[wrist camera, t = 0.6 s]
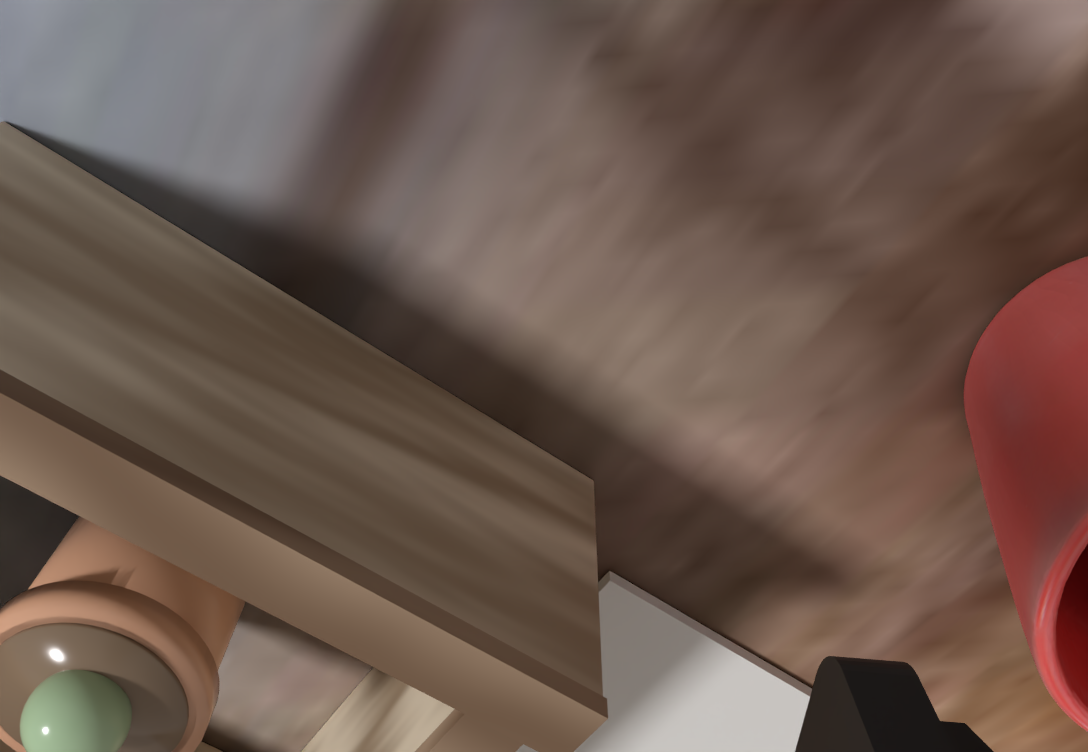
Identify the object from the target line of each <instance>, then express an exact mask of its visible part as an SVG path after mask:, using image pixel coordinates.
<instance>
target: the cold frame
mask: <svg viewBox="0 0 1088 752" xmlns="http://www.w3.org/2000/svg"><path fill="white" fill-rule="evenodd" d="M0 475H1V476H2V477H4V478H6V479H8V480H10V481H12V482H14V483H16V484H18V485H20V486H22V487H24V488H26V489H28V490H30V491H32V492H34V493H36V494H37V495H39V496H41V497H43V498H45V499H47V500H49V501H51V502H53V503H55V504H57V505H59V506H61V507H63V508H65V509H67V510H69V511H71V512H73V513H74V514H76V515H78V516H80V517H82V518H84V519H86V520H88V521H90V522H92V523H94V524H96V525H98V526H100V527H102V528H104V529H106V530H108V531H109V532H111V533H113V534H115V535H117V536H119V537H121V538H123V539H125V540H127V541H129V542H131V543H133V544H135V545H137V546H139V547H141V548H143V549H145V550H146V551H148V552H150V553H152V554H154V555H156V556H158V557H160V558H162V559H164V560H166V561H168V562H170V563H172V564H174V565H176V566H178V567H180V568H181V569H183V570H185V571H187V572H189V573H191V574H193V575H195V576H197V577H199V578H201V579H203V580H205V581H207V582H209V583H211V584H213V585H215V586H217V587H218V588H220V589H222V590H224V591H226V592H228V593H230V594H232V595H234V596H236V597H238V598H240V599H242V600H244V601H246V602H248V603H250V604H252V605H253V606H255V607H257V608H259V609H261V610H263V611H265V612H267V613H269V614H271V615H273V616H275V617H277V618H279V619H281V620H283V621H285V622H287V623H288V624H290V625H292V626H294V627H296V628H298V629H300V630H302V631H304V632H306V633H308V634H310V635H312V636H314V637H316V638H318V639H320V640H322V641H324V642H325V643H327V644H329V645H331V646H333V647H335V648H337V649H339V650H341V651H343V652H345V653H347V654H349V655H351V656H353V657H355V658H357V659H359V660H360V661H362V662H364V663H366V664H368V665H370V666H372V667H373V668H372V670H371V671H370V672H369V673H368V674H367V675H366V677H365V678H364V679H363V680H362V681H361V682H360V684H359V685H358V686H357V687H356V688H355V689H354V691H353V692H352V693H351V694H350V695H349V696H348V698H347V699H346V700H345V701H344V702H343V703H342V705H341V706H340V707H339V708H338V709H337V710H336V712H335V713H334V714H333V715H332V716H331V717H330V719H329V720H328V721H327V722H326V723H325V724H324V726H323V727H322V728H321V729H320V730H319V731H318V733H317V734H316V735H315V736H314V737H313V738H312V740H311V741H310V742H309V743H308V744H307V745H306V747H305V748H304V749H303V750H302V751H301V752H516V751H517V750H518V749H519V748H520V747H521V746H522V745H523V744H524V745H526V746H528V747H530V748H532V749H534V750H536V751H538V752H574V751H575V750H576V749H577V748H578V747H579V746H580V745H581V744H582V743H583V742H584V741H585V740H586V739H587V738H588V737H589V736H591V735H592V734H593V733H594V732H595V731H596V730H597V729H598V728H599V727H600V726H601V725H602V724H603V723H604V722H605V721H606V720H607V719H608V705H607V698H605V697H603V685H602V662H601V638H600V615H599V591H598V568H597V545H596V521H595V498H594V481H593V480H592V479H590V478H588V477H587V476H585V475H584V474H582V473H580V472H579V471H577V470H575V469H574V468H572V467H570V466H569V465H567V464H565V463H564V462H562V461H561V460H559V459H557V458H556V457H554V456H552V455H551V454H549V453H547V452H546V451H544V450H542V449H541V448H539V447H538V446H536V445H534V444H533V443H531V442H529V441H528V440H526V439H524V438H523V437H521V436H520V435H518V434H516V433H515V432H513V431H511V430H510V429H508V428H506V427H505V426H503V425H501V424H500V423H498V422H497V421H495V420H493V419H492V418H490V417H488V416H487V415H485V414H483V413H482V412H480V411H478V410H477V409H475V408H474V407H472V406H470V405H469V404H467V403H465V402H464V401H462V400H460V399H459V398H457V397H456V396H454V395H452V394H451V393H449V392H447V391H446V390H444V389H442V388H441V387H439V386H437V385H436V384H434V383H433V382H431V381H429V380H428V379H426V378H424V377H423V376H421V375H419V374H418V373H416V372H414V371H413V370H411V369H410V368H408V367H406V366H405V365H403V364H401V363H400V362H398V361H396V360H395V359H393V358H392V357H390V356H388V355H387V354H385V353H383V352H382V351H380V350H378V349H377V348H375V347H373V346H372V345H370V344H369V343H367V342H365V341H364V340H362V339H360V338H359V337H357V336H355V335H354V334H352V333H350V332H349V331H347V330H346V329H344V328H342V327H341V326H339V325H337V324H336V323H334V322H332V321H331V320H329V319H328V318H326V317H324V316H323V315H321V314H319V313H318V312H316V311H314V310H313V309H311V308H309V307H308V306H306V305H305V304H303V303H301V302H300V301H298V300H296V299H295V298H293V297H291V296H290V295H288V294H286V293H285V292H283V291H282V290H280V289H278V288H277V287H275V286H273V285H272V284H270V283H268V282H267V281H265V280H264V279H262V278H260V277H259V276H257V275H255V274H254V273H252V272H250V271H249V270H247V269H245V268H244V267H242V266H241V265H239V264H237V263H236V262H234V261H232V260H231V259H229V258H227V257H226V256H224V255H222V254H221V253H219V252H218V251H216V250H214V249H213V248H211V247H209V246H208V245H206V244H204V243H203V242H201V241H200V240H198V239H196V238H195V237H193V236H191V235H190V234H188V233H186V232H185V231H183V230H181V229H180V228H178V227H177V226H175V225H173V224H172V223H170V222H168V221H167V220H165V219H163V218H162V217H160V216H158V215H157V214H155V213H154V212H152V211H150V210H149V209H147V208H145V207H144V206H142V205H140V204H139V203H137V202H135V201H134V200H132V199H131V198H129V197H127V196H126V195H124V194H122V193H121V192H119V191H117V190H116V189H114V188H113V187H111V186H109V185H108V184H106V183H104V182H103V181H101V180H99V179H98V178H96V177H94V176H93V175H91V174H90V173H88V172H86V171H85V170H83V169H81V168H80V167H78V166H76V165H75V164H73V163H71V162H70V161H68V160H67V159H65V158H63V157H62V156H60V155H58V154H57V153H55V152H53V151H52V150H50V149H49V148H47V147H45V146H44V145H42V144H40V143H39V142H37V141H35V140H34V139H32V138H30V137H29V136H27V135H26V134H24V133H22V132H21V131H19V130H17V129H16V128H14V127H12V126H11V125H9V124H7V123H6V122H4V121H2V122H1V123H0ZM0 752H17V751H15V750H14V749H12V748H11V747H10V746H8V745H7V744H6V743H4V742H3V741H2V740H1V739H0ZM194 752H223V751H221V750H219V749H216V748H214V747H212V746H210V745H208V744H206V743H204V742H200V744H199V745H198V747H197V748H196V750H195V751H194Z"/></svg>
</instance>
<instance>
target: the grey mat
mask: <svg viewBox="0 0 1088 752" xmlns="http://www.w3.org/2000/svg"><path fill="white" fill-rule="evenodd" d="M598 591H599V615H600V638H601V662H602V685H603V697H605V698H607V705H608V719H607V720H606V721H605V722H604V723H603V724H602V725H601V726H600V727H599V728H598V729H597V730H596V731H595V732H594V733H593V734H592V735H591V736H589V737H588V738H587V739H586V740H585V741H584V742H583V743H582V744H581V745H580V746H579V747H578V748H577V749H576V750H575V751H574V752H795V750H796V746H797V742H798V739H799V735H800V732H801V728H802V724H803V721H804V717H805V713H806V710H807V706H808V703H809V699H810V695H811V692H812V688H810V687H808V686H807V685H805V684H803V683H801V682H800V681H798V680H796V679H795V678H793V677H791V676H789V675H788V674H786V673H784V672H783V671H781V670H779V669H777V668H776V667H774V666H772V665H771V664H769V663H767V662H765V661H764V660H762V659H760V658H759V657H757V656H755V655H753V654H752V653H750V652H748V651H747V650H745V649H743V648H741V647H740V646H738V645H736V644H735V643H733V642H731V641H729V640H728V639H726V638H724V637H723V636H721V635H719V634H717V633H716V632H714V631H712V630H711V629H709V628H707V627H705V626H704V625H702V624H700V623H699V622H697V621H695V620H693V619H692V618H690V617H688V616H687V615H685V614H683V613H681V612H680V611H678V610H676V609H675V608H673V607H671V606H669V605H668V604H666V603H664V602H663V601H661V600H659V599H657V598H656V597H654V596H652V595H651V594H649V593H647V592H645V591H644V590H642V589H640V588H639V587H637V586H635V585H633V584H632V583H630V582H628V581H627V580H625V579H623V578H621V577H620V576H618V575H616V574H615V573H613V572H611V571H609V572H608V573H607V574H606V575H605V576H604V577H603V578H602V579H601V580H600V581H599V582H598ZM516 752H538V751H536V750H534V749H532V748H530V747H528V746H526V745H524V744H523V745H522V746H521V747H520V748H519V749H518V750H517V751H516Z"/></svg>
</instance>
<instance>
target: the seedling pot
mask: <svg viewBox="0 0 1088 752" xmlns="http://www.w3.org/2000/svg"><path fill="white" fill-rule="evenodd" d="M245 603H246V601H244V600H242V599H240V598H238V597H236V596H234V595H232V594H230V593H228V592H226V591H224V590H222V589H220V588H218V587H217V586H215V585H213V584H211V583H209V582H207V581H205V580H203V579H201V578H199V577H197V576H195V575H193V574H191V573H189V572H187V571H185V570H183V569H181V568H180V567H178V566H176V565H174V564H172V563H170V562H168V561H166V560H164V559H162V558H160V557H158V556H156V555H154V554H152V553H150V552H148V551H146V550H145V549H143V548H141V547H139V546H137V545H135V544H133V543H131V542H129V541H127V540H125V539H123V538H121V537H119V536H117V535H115V534H113V533H111V532H109V531H108V530H106V529H104V528H102V527H100V526H98V525H96V524H94V523H92V522H90V521H88V520H86V519H84V518H82V517H80V516H79V517H78V518H77V519H76V521H75V522H74V524H73V525H72V527H71V528H70V530H69V531H68V532H67V534H66V535H65V537H64V538H63V540H62V541H61V542H60V544H59V545H58V547H57V548H56V550H55V551H54V553H53V554H52V555H51V557H50V558H49V560H48V561H47V563H46V564H45V565H44V567H43V568H42V570H41V571H40V573H39V574H38V576H37V577H36V578H35V580H34V581H33V583H32V584H31V586H30V587H29V589H28V590H26V591H24V592H22V593H20V594H18V595H17V596H15V597H14V598H12V599H11V600H9V601H8V602H7V603H6V604H5V605H4V606H3V607H2V608H1V609H0V739H1V740H2V741H3V742H4V743H6V744H7V745H8V746H10V747H11V748H12V749H14V750H15V751H17V752H194V751H195V750H196V748H197V747H198V745H199V744H200V742H201V741H202V739H203V736H204V734H205V731H206V729H207V726H208V724H209V721H210V719H211V716H212V713H213V711H214V708H215V706H216V703H217V700H218V695H219V675H218V669H219V666H220V664H221V662H222V659H223V657H224V654H225V652H226V649H227V647H228V644H229V642H230V639H231V637H232V635H233V632H234V630H235V627H236V625H237V622H238V620H239V617H240V615H241V612H242V610H243V608H244V605H245Z"/></svg>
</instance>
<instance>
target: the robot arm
mask: <svg viewBox="0 0 1088 752" xmlns="http://www.w3.org/2000/svg"><path fill="white" fill-rule="evenodd" d="M795 752H993V751H992V750H991V749H990V748H989V747H988V746H987V745H986V744H985V743H984V742H983V741H982V740H981V739H980V738H979V737H978V736H977V735H976V734H975V733H974V732H973V731H972V730H971V729H970V728H969V727H968V726H967V725H966V724H965V723H956V722H943V721H940V720H939V718H938V716H937V714H936V712H935V710H934V708H933V706H932V704H931V702H930V700H929V698H928V696H927V694H926V692H925V690H924V688H923V686H922V684H921V682H920V679H919V677H918V675H917V674H916V672H915V670H914V669H913V668H912V667H911V666H910V665H909V664H908V663H905V662H897V661H884V660H872V659H860V658H847V657H835V656H828V657H826V658H825V659H824V660H823V661H822V662H821V664H820V666H819V668H818V671H817V674H816V677H815V681H814V685H813V688H812V692H811V695H810V699H809V703H808V706H807V710H806V713H805V717H804V721H803V724H802V728H801V732H800V735H799V739H798V742H797V746H796V750H795Z"/></svg>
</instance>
